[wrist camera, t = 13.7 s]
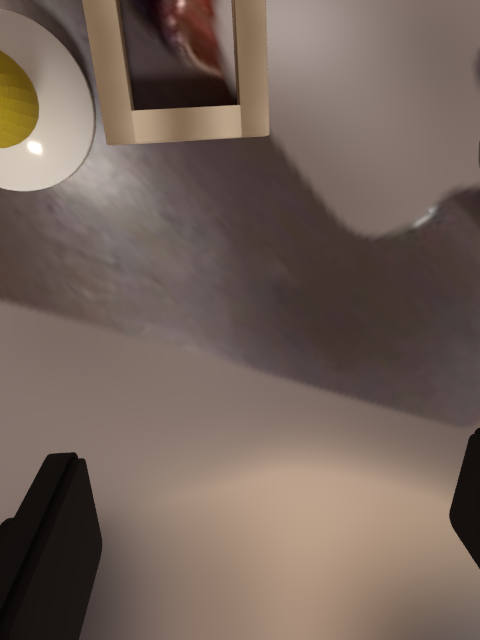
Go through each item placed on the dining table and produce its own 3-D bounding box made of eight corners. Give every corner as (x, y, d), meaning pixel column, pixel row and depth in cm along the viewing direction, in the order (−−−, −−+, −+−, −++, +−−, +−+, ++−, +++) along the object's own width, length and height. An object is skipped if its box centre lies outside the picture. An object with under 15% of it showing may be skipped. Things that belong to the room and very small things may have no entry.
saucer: (78, 10, 26) (73, 3, 25) (109, 184, 31) (105, 185, 29) (-98, 16, 25) (-111, 9, 24) (-41, 194, 30) (-50, 196, 29)
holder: (258, -57, 26) (263, -73, 24) (264, 136, 30) (269, 134, 29) (79, -53, 25) (70, -70, 23) (112, 145, 30) (107, 144, 28)
